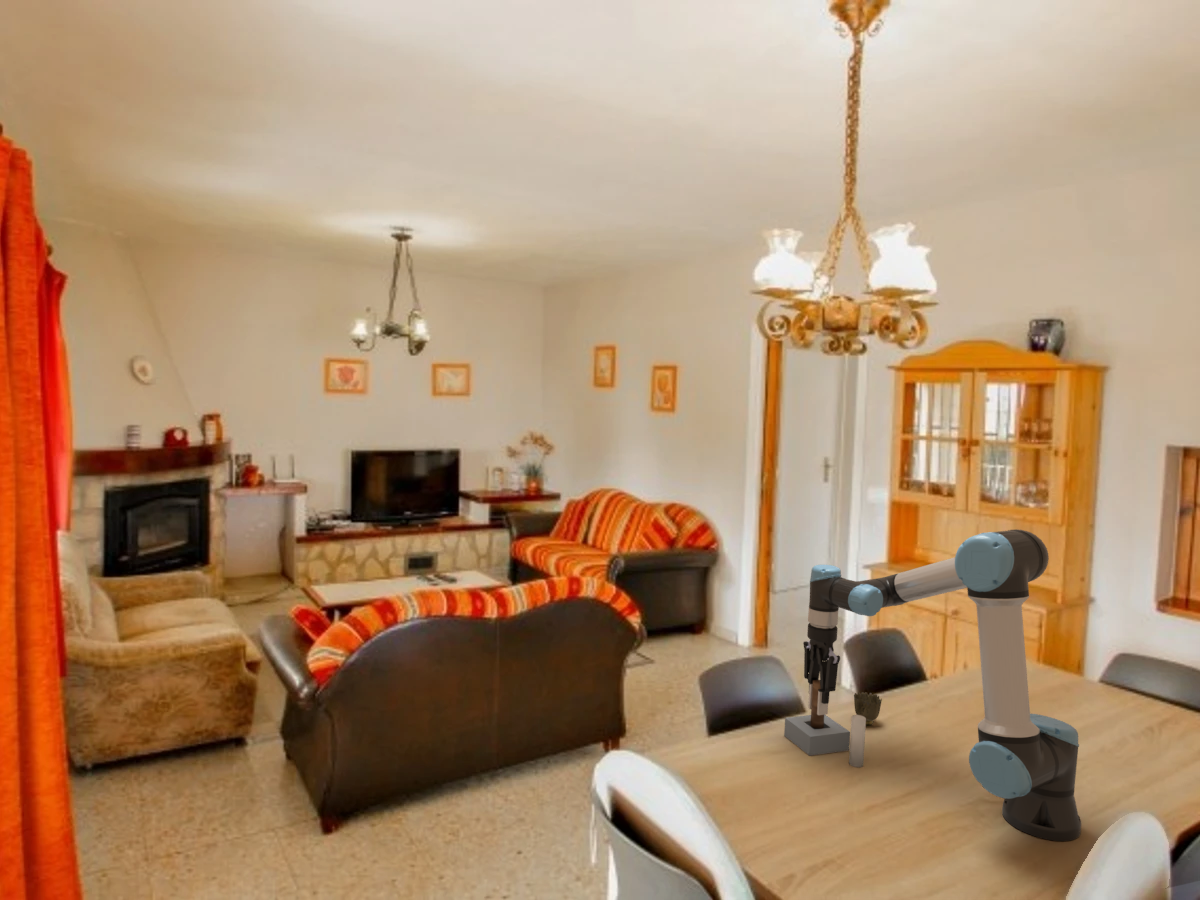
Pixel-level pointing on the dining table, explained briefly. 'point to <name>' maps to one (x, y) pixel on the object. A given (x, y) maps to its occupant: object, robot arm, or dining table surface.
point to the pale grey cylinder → (857, 740)
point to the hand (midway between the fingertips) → (817, 711)
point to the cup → (867, 706)
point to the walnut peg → (817, 720)
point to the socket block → (817, 735)
